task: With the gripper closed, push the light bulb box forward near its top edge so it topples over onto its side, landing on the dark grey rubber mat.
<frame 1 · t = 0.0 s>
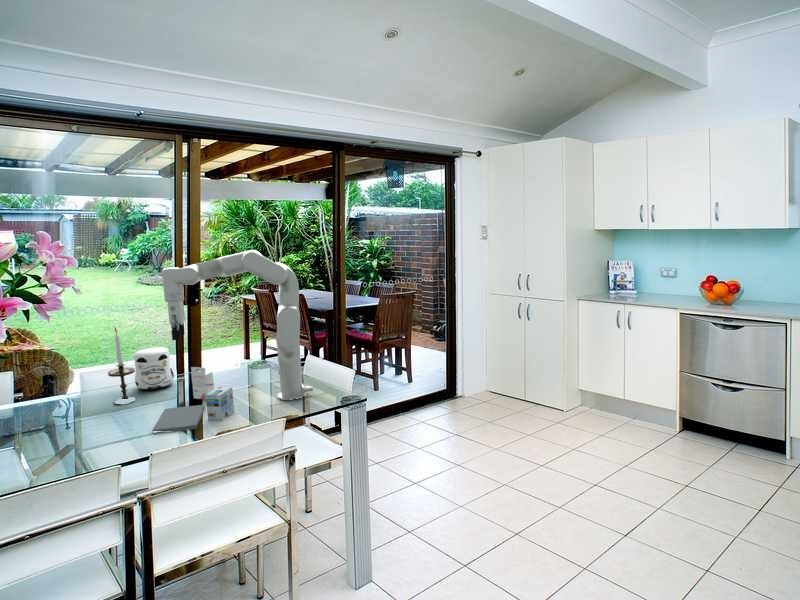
hand: (178, 337, 238), 31 cm above the table, tool pointing down, fingers open, 9 cm apart
milk container: (155, 387, 275), on the table
candlestick: (125, 402, 255), on the table
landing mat: (180, 420, 229), on the table
light bulb box: (221, 416, 232), on the table
ink cartridge box: (204, 397, 256), on the table
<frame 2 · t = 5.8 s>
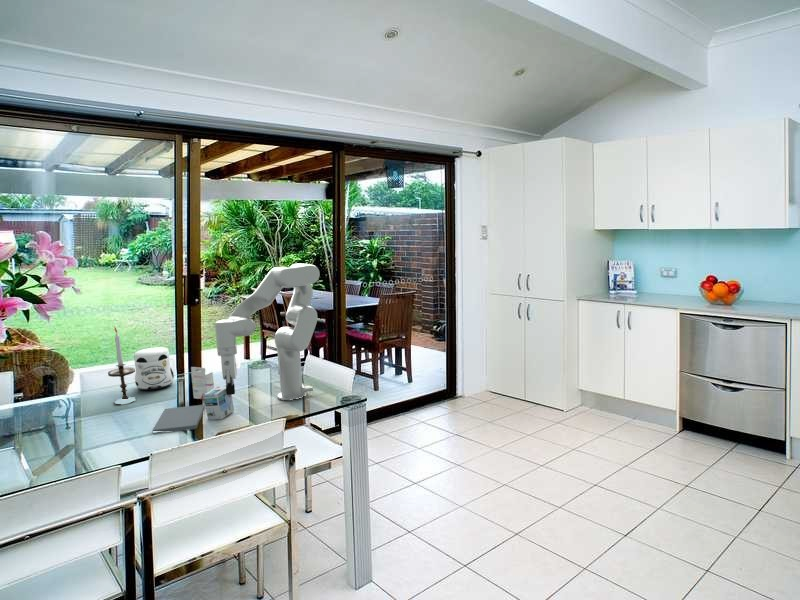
hand: (230, 393, 231), 9 cm above the table, tool pointing down, fingers closed
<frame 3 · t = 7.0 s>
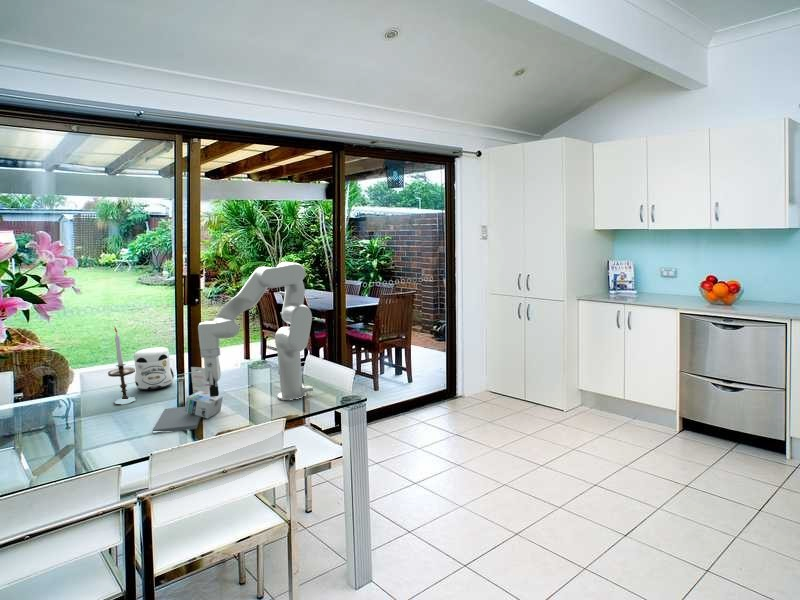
hand: (214, 395, 230), 9 cm above the table, tool pointing down, fingers closed
light bulb box: (216, 407, 232), point 3 cm above the table, touching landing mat
everything else where it was.
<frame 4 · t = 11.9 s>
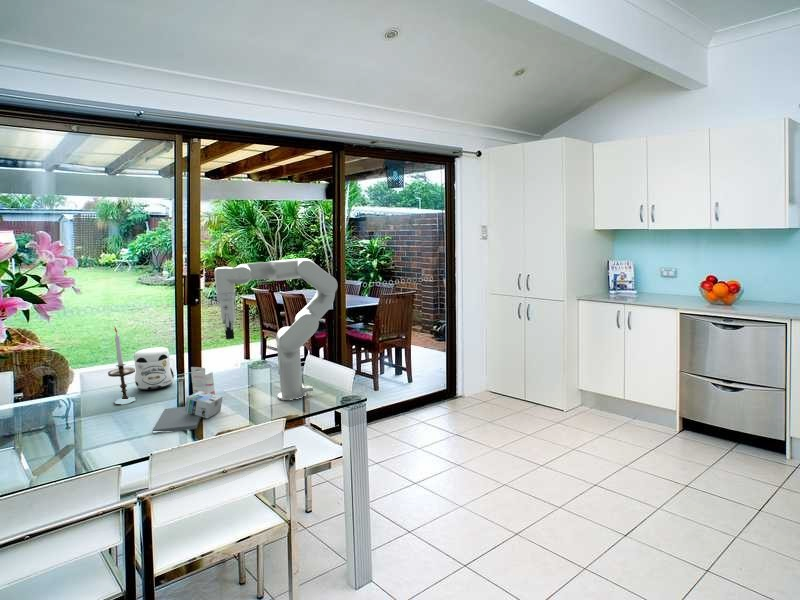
hand: (230, 338, 241), 29 cm above the table, tool pointing down, fingers closed
nothing on the table moved.
at the end: light bulb box tilted 77°; light bulb box inside the target area (5.2 cm from its centre), point 3.3 cm above the table; light bulb box touching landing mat, table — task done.
